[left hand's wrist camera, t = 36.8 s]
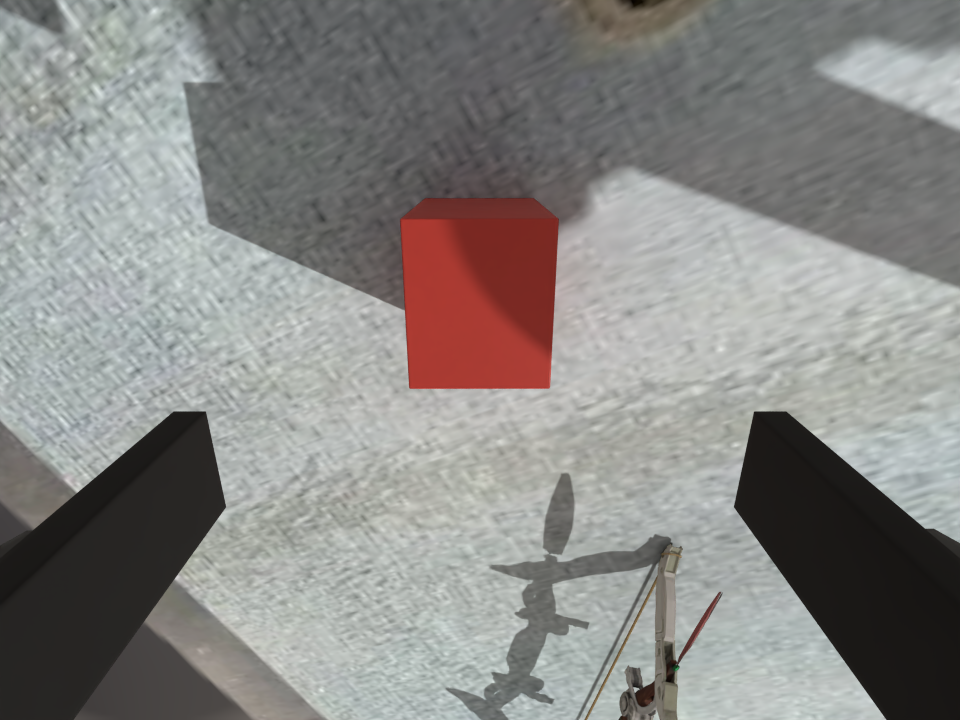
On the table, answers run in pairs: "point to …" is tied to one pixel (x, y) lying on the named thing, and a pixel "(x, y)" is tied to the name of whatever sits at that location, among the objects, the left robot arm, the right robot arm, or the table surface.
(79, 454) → the table surface
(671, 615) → the bow
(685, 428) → the table surface
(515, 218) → the brick
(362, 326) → the table surface
